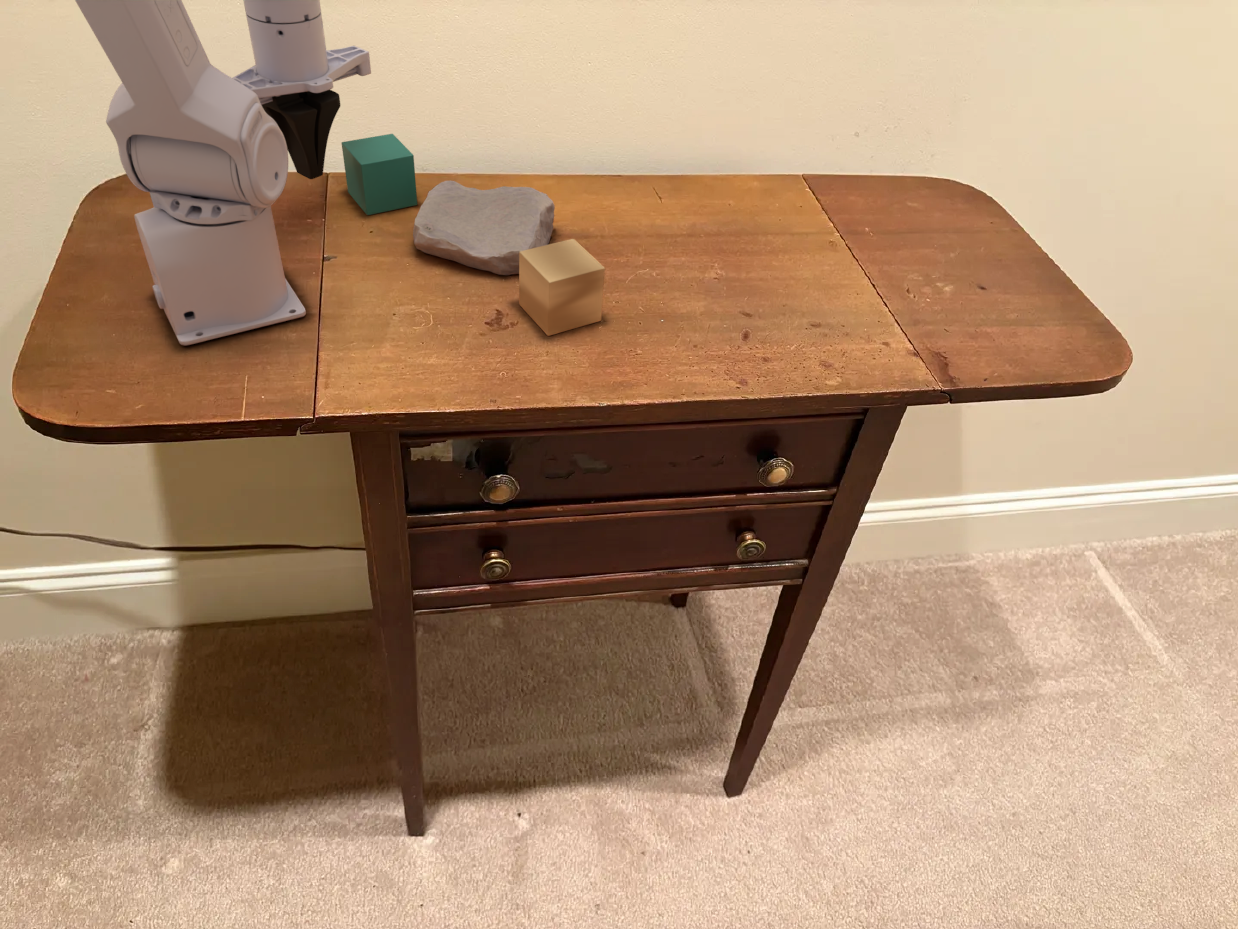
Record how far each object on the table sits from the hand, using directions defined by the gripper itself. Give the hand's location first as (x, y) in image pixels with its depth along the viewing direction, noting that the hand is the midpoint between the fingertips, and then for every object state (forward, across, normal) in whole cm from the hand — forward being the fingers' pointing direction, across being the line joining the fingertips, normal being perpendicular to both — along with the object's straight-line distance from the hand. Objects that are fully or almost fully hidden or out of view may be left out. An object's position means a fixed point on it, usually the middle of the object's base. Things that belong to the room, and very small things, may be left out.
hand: (310, 173), depth 82 cm
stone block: (+4, +6, -15) cm, 17 cm away
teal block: (+4, +6, -2) cm, 7 cm away
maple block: (+4, +3, -27) cm, 27 cm away
